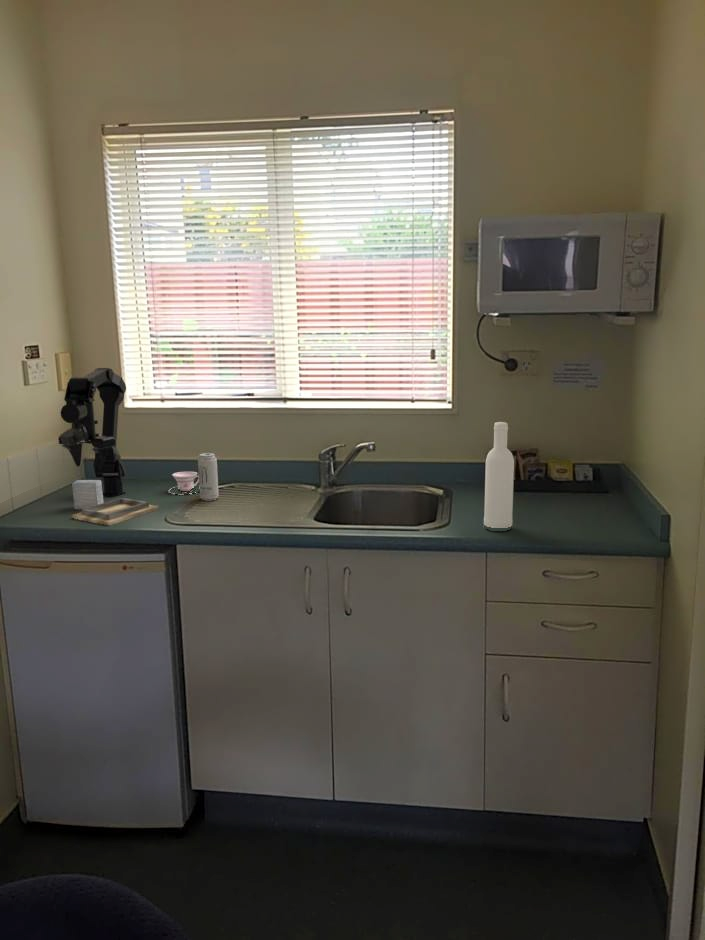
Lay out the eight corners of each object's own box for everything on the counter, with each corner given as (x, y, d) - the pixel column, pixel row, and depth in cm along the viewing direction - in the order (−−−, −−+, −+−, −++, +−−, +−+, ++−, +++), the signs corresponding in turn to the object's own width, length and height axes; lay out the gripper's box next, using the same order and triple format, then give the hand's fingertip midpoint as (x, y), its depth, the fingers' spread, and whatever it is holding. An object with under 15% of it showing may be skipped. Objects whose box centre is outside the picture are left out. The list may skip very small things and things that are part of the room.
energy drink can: (196, 500, 250) (193, 455, 246) (207, 496, 255) (204, 452, 252) (211, 502, 247) (209, 456, 244) (222, 498, 252) (220, 453, 249)
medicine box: (104, 506, 244) (102, 479, 242) (98, 510, 240) (96, 483, 238) (80, 505, 245) (78, 479, 243) (74, 509, 241) (71, 482, 239)
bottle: (489, 522, 221) (492, 419, 214) (516, 526, 217) (519, 421, 210) (479, 530, 214) (482, 424, 208) (506, 534, 210) (510, 426, 204)
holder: (71, 518, 231) (71, 510, 230) (122, 503, 248) (121, 495, 247) (109, 525, 223) (108, 517, 222) (158, 509, 240) (158, 501, 239)
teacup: (168, 496, 256) (167, 478, 254) (167, 488, 267) (166, 471, 266) (205, 494, 258) (204, 476, 257) (202, 486, 270) (201, 469, 268)
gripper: (42, 419, 234) (47, 469, 237) (86, 423, 225) (91, 475, 228) (70, 414, 243) (75, 463, 247) (114, 418, 235) (118, 468, 238)
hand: (88, 467), depth 240 cm, fingers open, 9 cm apart
